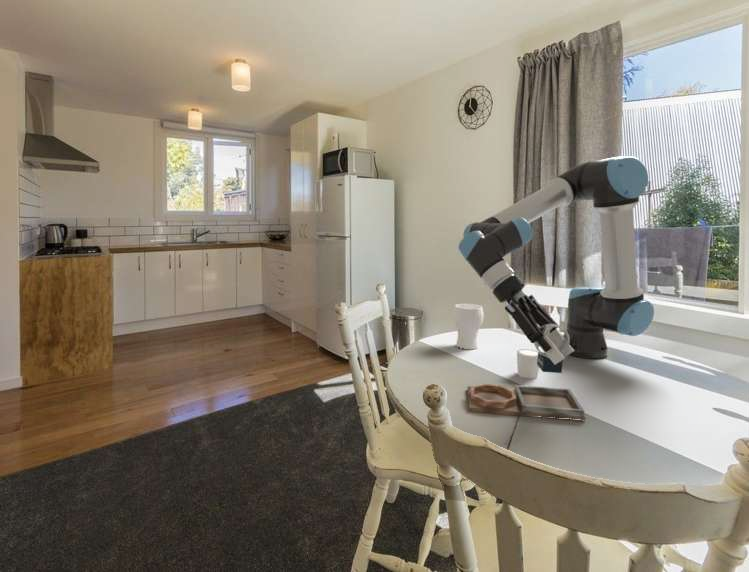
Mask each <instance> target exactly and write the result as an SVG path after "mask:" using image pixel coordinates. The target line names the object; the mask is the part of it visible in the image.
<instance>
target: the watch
mask: <svg viewBox="0 0 749 572" xmlns="http://www.w3.org/2000/svg"><path fill="white" fill-rule="evenodd" d="M557 324H558V323H557ZM557 324H547V325H542V326H541V327H540V326H539V328H540V330H541V331H542V333H543V335H544V336H545V335H547V336H548V335H549V334H550V330H551V329H552V327H557V329H561V330H562V331H563V334H564V333H565V336H566V337H565V339H564V340H563V343H562V344H561V346H560V347H559V348H557V349H558V350H559V351H560V352H561V354H563V353H564V352H565V350H566V349H567V347H568V345H569V343H570V342H569V339H570V338H569V334H568V332H567V331H566V328H564V327H562V326H561V325H559V324H558V325H557ZM544 336H543V337H544ZM533 344H534V346H535V348H536V351H538V358H537V365H538V366H539V369H540V370H541V371H542V373H554V374H562V373H563V361H564V359H563V360H562V361H560V362H559V363H557V364H555V365H554V363H553V362H552V361H551V360H550V358H549V357H548V356H547V355H546V353H545V352H544V351H541V350H540V349H539V347H540V346H539V345H538V343H537V341H536V342H535V343H533Z"/></svg>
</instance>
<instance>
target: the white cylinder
mask: <svg viewBox="0 0 749 572" xmlns="http://www.w3.org/2000/svg"><path fill="white" fill-rule="evenodd" d="M538 352H539V351H538V350H534V349H523V348H522V349H518V350H516V365H517V367H516V368H517V375H518V376H519V377H521V378H524V379H537V378H538V375H539V369H540V368H539V366H538V365H537V358H538Z"/></svg>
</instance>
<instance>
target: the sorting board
mask: <svg viewBox="0 0 749 572" xmlns="http://www.w3.org/2000/svg"><path fill="white" fill-rule="evenodd" d="M467 400H468V411H469V412H474V413H483V414H495V415H508V416H516V415H519V416H520V415H521V416H520V417H527V416H541V417H553V418H554V417H555V418H569V419H570V418H571V419H581V420H585V421H586V417H585V412H586V411H585V409H584V408H583V406H582V405H581V404H580V402H579V401H578V399H577V398H576V396H575V395H574V394H573V392H572V391H571V388H558V387H546V386H545V387H544V386H532V385H531V386H530V385H522V384H521V385H520V384H519V385H518V384H515V385H514V389H510V388H509V387H505V386H504V385H500V384H488V383H481V384H477V385H474V386H470V385H469V386H467ZM519 416H518V417H519Z"/></svg>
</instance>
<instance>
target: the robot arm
mask: <svg viewBox="0 0 749 572" xmlns="http://www.w3.org/2000/svg"><path fill="white" fill-rule="evenodd" d="M648 185H649V173H648V169H647V167H646V165H645V164H644V162H642V161H641V160H640V159H639V158H638V157H635V156H630V155H629V156H624V155H623V156H615V157H610V158H605V159H598V160H589V161H586V162H584V163H581V164H578V165H576V166H574V167H572V168H570V169H568V170H566V171H565V172H563V173H561V174H559V175H557V176H555V177H554V178H552V179H551V180H549V183H548V185H546V186H544V187H543V188H540V189H538V190H537V191H534V193H532V194H530V195H527V196H526V197H524V198H523V199H521V200H519V201H517V202H515V203H513V204H512V205H509V206H508V207H506V208H504V209H503V210H501V211H499V212H498V213H496V214H493V215H492V216H489V217H488V218H486V219H484V220H482V221H481V222H477V221H476V222H472V223H469V224H468V225H466V226H465V228H464V230H463V236H462V237H463V238H462V239H461V240H460V241H459V244H458V250H459V252H460V253H461V255H462V256H463V258H464V259H465V261H466V262H467V263H468V264H469V265H470V266H471V268H472V269H473V270H474V271H475V272H476V275H478V276H479V278H480V279H481V280H482V281H483V284H484V285H485V286H486V287H487V288H488V289H489V290H492V294H493V295H494V297H495V298H496V299H497V301H498V302H499V303H505V302H507V303H506V304H507V305H506V306H504V310H505V311H506V312H507V313H508V314H509V315H510V316H511V317H512V319H513V321H514V322H515V323H516V325H517V326H518V327H519V329H520V330H521V331H522V332H523V334H524V335H525V337H526V338H527V340H528V341H529V342H530V343H531V344H534V343H535V342H536V341H537V343H538V345H539V347H540V349H541V350H542V352H543V353H546V355H547V356H548V357H549V358H550V360H551V361H552V362H553V363H554V365H555V364H557V363H559V362H560V361H562V360H563V361H564V360H565V359H566V357H568V356H572V357H576V358H577V357H578V358H584V359H603V358H606V357H607V356H608V353H609V352H608V351H609V348H608V345H607V340H606V337H605V330H608V331H610V332H614V333H617V334H620V335H621V336H622V335H624V336H625V335H626V336H629V337H637V336H640V335H642V334H643V333H644V332H645V331H646V330H648V328H649V327H650V326H651V324H652V322H653V319H654V316H655V309H654V305H653V304H652V303H651V302H650V301H649V300H647V299H645V298H644V297H645V296H644V295H645V294H644V290H643V289H642V288H641V287H640V286H638V276H637V274H638V273H637V258H636V257H637V256H636V238H635V237H636V236H635V218H634V216H635V215H634V208H635V207H636V206H637V205H638V203H639V202H640V196H642V195H643V194H644V193H645V192H646V190H647V187H648ZM589 200H590V201H591V200H592V201H593V208H594V210H596V211H597V212H598V213H599V217H600V233H601V246H602V261H603V262H602V263H603V273H604V274H603V275H604V286H603V287H602V286H584V287H583V286H579V287H573V288H571V290H570V291H569V295H568V299H567V303H568V304H567V315H566V316H567V317H566V318H567V319H566V328H565V330H566V331H567V332H568V334H569V338H570V339H569V342H570V343H569V345H568V347H567V349H566V350H565V352H564V353H563V354H561V352H560V351H559V350H558V348H559V347H560V346H561V344H562V343H563V340H564V339H565V337H566V336H565V333H564V332H563V335H562V334H561V332H560V331H559V330H558V328H557V327H552V329H551V330H550V333H549V335H548V336H547V335H545V336H544V335H543V333H542V331H541V330H540V327H541V326H542V325H547V324H557V325H559V324H558V323H557V322H556V321H555V320H554V318H552V317H551V315H550V314H549V313H548V312H547V311H546V310H545V309H544V308H543V307H542V306H541V304H540V303H539V302H538V301H537V299H536V298H535V297H534V296H533V294H530V295H529V296H528V295H527V294H526V293H524V291H523V289H524V288H525V283H524V282H523V281H522V279H521V278H520V277H519V275H517V274H515V270H513V268H512V267H511V266H510V265H509V263H508V262H507V261H506V260H505V259H504V257H506V256H507V255H509V254H511V253H513V252H516V250H518V249H520V248H523V247H524V246H525V245H526V244H527V243H529V242H530V241H531V240H532V239H533V236H534V232H533V228H532V226H531V223H533V222H534V221H536V220H537V219H540V218H541V217H543V216H545V215H546V214H548V213H550V212H551V211H554V210H555V209H557V208H559V207H560V206H561V207H567V206H569V205H570V204H573V203H575V202H580V201H589ZM543 336H544V337H543Z"/></svg>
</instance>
